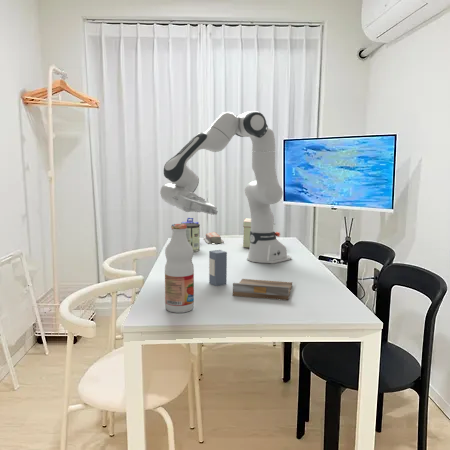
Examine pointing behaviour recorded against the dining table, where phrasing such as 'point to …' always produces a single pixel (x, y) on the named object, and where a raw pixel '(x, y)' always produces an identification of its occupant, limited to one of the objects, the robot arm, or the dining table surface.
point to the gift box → (246, 232)
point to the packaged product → (213, 238)
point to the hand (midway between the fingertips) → (208, 210)
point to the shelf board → (262, 289)
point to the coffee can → (193, 235)
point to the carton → (217, 267)
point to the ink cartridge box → (189, 221)
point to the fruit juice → (179, 272)
